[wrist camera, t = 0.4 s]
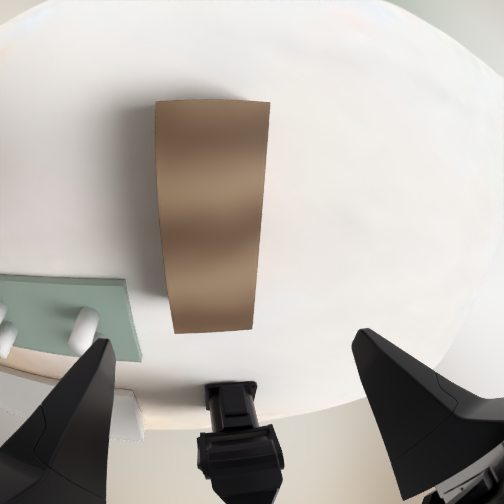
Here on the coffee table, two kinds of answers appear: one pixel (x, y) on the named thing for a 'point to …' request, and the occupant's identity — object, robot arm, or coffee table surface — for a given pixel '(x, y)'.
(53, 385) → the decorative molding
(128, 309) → the peg base
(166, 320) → the coffee table surface
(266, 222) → the coffee table surface
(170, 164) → the walnut shelf board
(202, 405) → the coffee table surface
